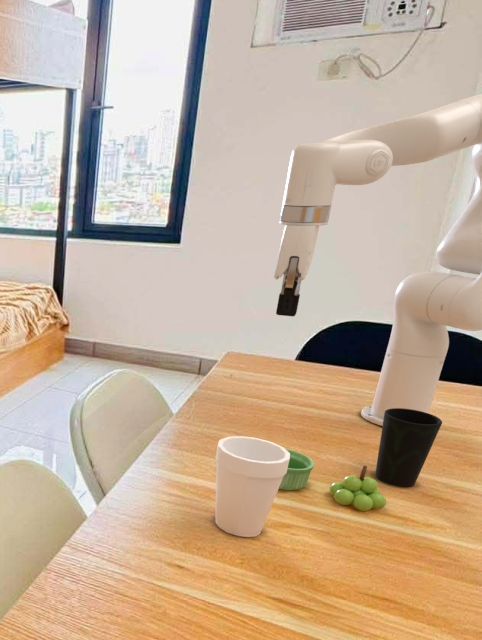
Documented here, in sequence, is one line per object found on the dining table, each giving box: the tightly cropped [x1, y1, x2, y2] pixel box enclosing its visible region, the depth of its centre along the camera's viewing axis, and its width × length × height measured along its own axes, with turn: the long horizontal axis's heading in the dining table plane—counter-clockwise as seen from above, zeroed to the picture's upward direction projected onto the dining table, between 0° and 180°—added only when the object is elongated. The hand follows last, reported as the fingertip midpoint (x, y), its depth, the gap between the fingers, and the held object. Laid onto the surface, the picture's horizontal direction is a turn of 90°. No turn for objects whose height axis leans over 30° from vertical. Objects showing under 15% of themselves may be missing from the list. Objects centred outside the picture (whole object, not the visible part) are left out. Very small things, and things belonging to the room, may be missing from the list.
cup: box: [374, 408, 443, 488], centre depth 108 cm, size 8×8×12 cm
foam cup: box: [214, 435, 290, 538], centre depth 94 cm, size 10×9×13 cm
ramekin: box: [278, 447, 315, 491], centre depth 109 cm, size 9×9×4 cm
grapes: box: [329, 464, 387, 512], centre depth 102 cm, size 8×7×7 cm
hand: (285, 314), depth 120 cm, fingers closed
